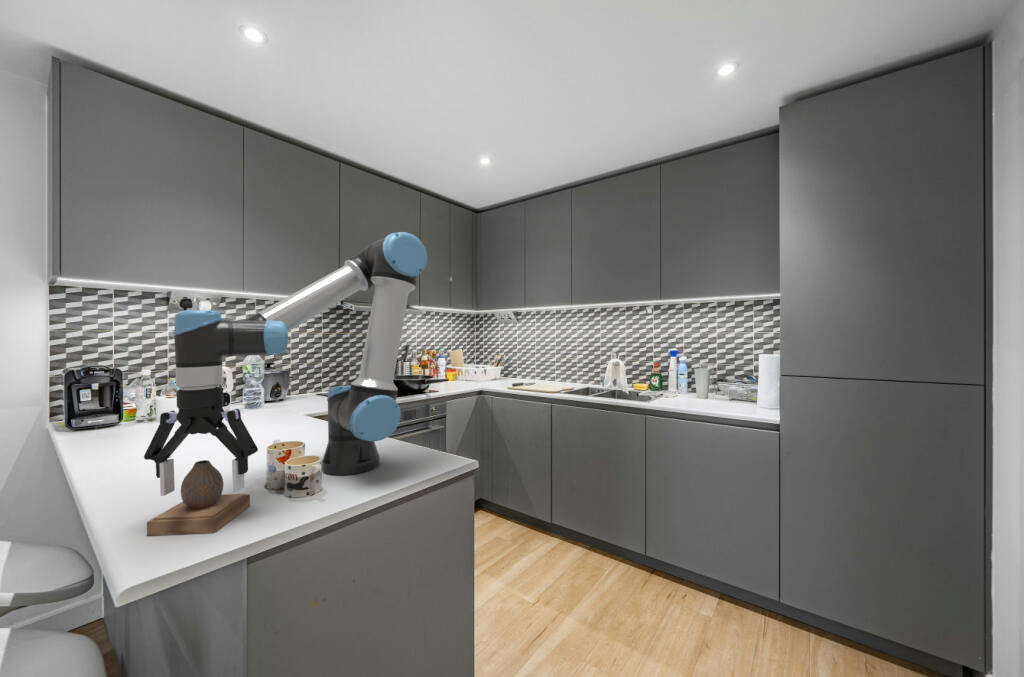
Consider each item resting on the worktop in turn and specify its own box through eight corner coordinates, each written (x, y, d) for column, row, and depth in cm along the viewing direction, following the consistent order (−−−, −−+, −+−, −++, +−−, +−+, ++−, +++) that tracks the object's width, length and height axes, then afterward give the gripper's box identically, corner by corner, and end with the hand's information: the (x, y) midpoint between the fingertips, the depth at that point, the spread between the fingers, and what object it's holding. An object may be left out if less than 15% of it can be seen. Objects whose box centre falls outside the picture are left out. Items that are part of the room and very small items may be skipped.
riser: (250, 506, 89) (249, 492, 89) (214, 532, 77) (214, 517, 77) (191, 508, 88) (191, 494, 88) (147, 535, 76) (146, 520, 76)
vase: (226, 505, 83) (225, 461, 82) (182, 515, 78) (181, 470, 78) (220, 495, 88) (220, 454, 88) (179, 504, 83) (178, 461, 83)
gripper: (274, 383, 87) (276, 481, 88) (149, 386, 85) (152, 487, 85) (255, 388, 80) (258, 495, 80) (117, 391, 78) (121, 502, 78)
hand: (203, 491), depth 83 cm, fingers open, 13 cm apart
